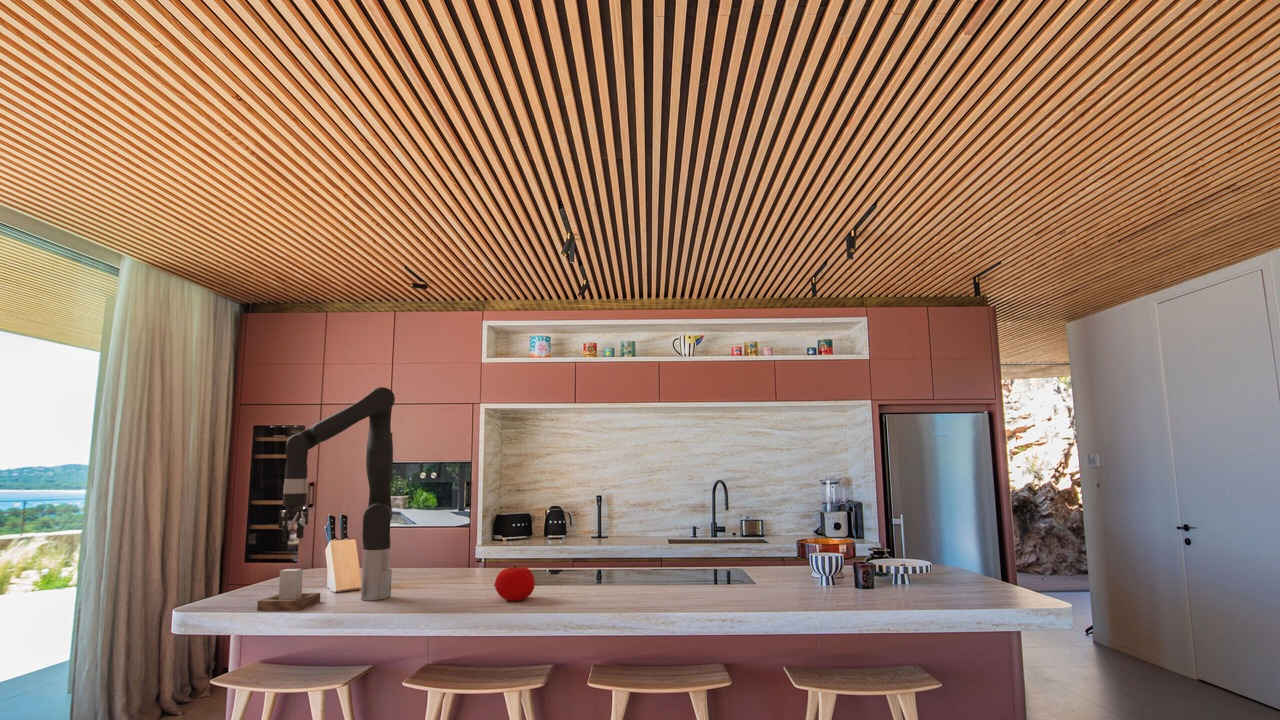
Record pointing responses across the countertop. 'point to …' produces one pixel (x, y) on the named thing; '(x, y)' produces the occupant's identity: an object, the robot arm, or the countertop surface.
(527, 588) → the tomato
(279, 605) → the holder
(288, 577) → the skincare box
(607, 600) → the countertop surface
